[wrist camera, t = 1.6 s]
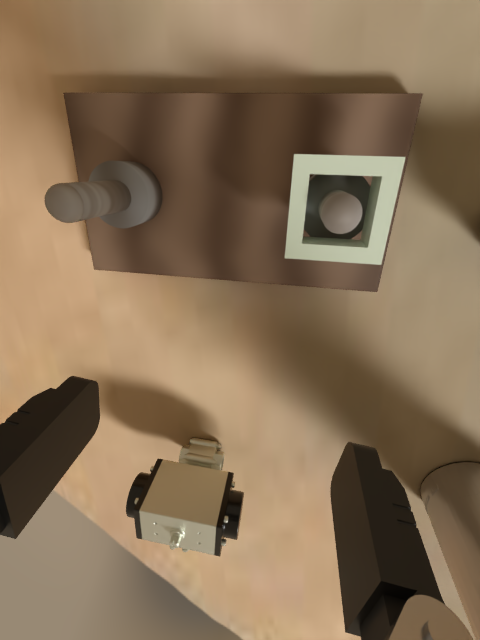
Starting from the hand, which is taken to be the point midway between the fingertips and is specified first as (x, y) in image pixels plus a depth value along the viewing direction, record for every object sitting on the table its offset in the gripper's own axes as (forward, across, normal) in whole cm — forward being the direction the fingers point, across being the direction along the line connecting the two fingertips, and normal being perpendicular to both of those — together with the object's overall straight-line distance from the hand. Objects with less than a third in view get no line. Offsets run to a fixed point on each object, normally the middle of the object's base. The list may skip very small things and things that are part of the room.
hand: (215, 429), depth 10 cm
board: (+22, +4, -5) cm, 23 cm away
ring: (+16, -4, -6) cm, 17 cm away
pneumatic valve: (+22, +3, +26) cm, 34 cm away
